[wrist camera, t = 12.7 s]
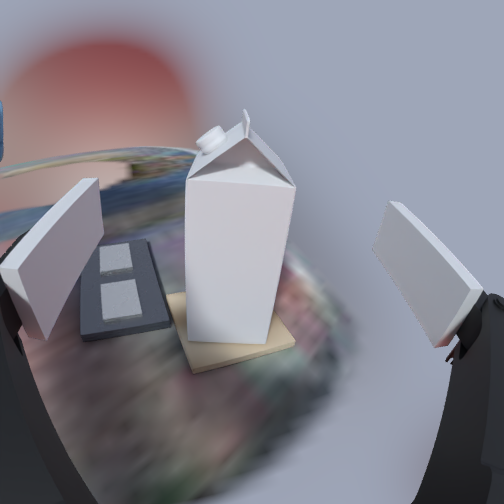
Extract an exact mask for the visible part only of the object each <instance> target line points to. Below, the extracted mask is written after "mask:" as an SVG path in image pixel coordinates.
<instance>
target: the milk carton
mask: <svg viewBox="0 0 504 504" xmlns="http://www.w3.org/2000/svg"><path fill="white" fill-rule="evenodd" d="M249 126H250V119H249V116H248V114H247V111H246V109H243V116H242V122H240V123H239V124H237V125H236V126H235V127H233V128H232V129H230V130H229V131H227V132H226V133H225V132H224V131H223V129H222V128H221V126H216V127H214V128H213V129H212V130H210V131H208V132H207V133H206V134H205V135H203V136H202V137H201V138H199V139H198V140H197V142H196V145H197V146H198V147H199V148H200V149H201V151H200V152H199V153H198V154H197V156H196V158H195V160H194V162H193V165H192V167H191V169H190V171H189V174H188V176H187V179H186V189H185V282H186V312H187V334H188V341H199V342H216V343H238V344H266V340H267V336H268V331H269V326H270V322H271V317H272V312H273V307H274V302H275V298H276V293H277V288H278V283H279V278H280V273H281V268H282V263H283V257H284V252H285V247H286V242H287V237H288V231H289V226H290V220H291V215H292V210H293V204H294V198H295V192H296V186H295V185H294V182H293V181H292V179H291V177H290V175H289V173H288V171H287V170H286V168H285V166H284V164H283V162H282V161H281V159H280V158H279V157H278V156H277V155H276V154H275V153H274V152H273V151H272V150H271V148H270V147H268V145H267V144H266V143H265V142H264V141H263V140H262V139H261V138H260V137H259V136H258V135H257V134H256V133H255V132H254V131H253V130H252V129H251V128H250V127H249Z"/></svg>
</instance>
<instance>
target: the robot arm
mask: <svg viewBox="0 0 504 504" xmlns="http://www.w3.org/2000/svg"><path fill="white" fill-rule="evenodd" d="M2 158H3V107H2V102H1V101H0V162H1V160H2ZM103 235H104V227H103V220H102V211H101V201H100V191H99V179H98V178H83V179H82V180H81V181H79V182H78V183H77V184H76V185H75V186H74V187H73V188H72V189H71V190H70V191H69V192H68V193H66V194H65V195H64V196H63V197H62V198H61V199H60V200H59V201H58V202H57V203H56V204H55V205H54V206H53V207H52V208H51V209H50V210H49V211H48V212H47V213H46V214H45V215H44V216H43V217H42V218H41V219H40V220H39V221H38V222H37V223H36V224H35V225H34V227H33V228H32V229H31V230H28V231H27V232H25V233H24V234H22V235H21V236H19V237H18V238H17V239H16V241H15V242H14V243H13V244H12V246H10V247H9V248H8V250H7V251H6V253H4V254H3V255H2V257H1V258H0V504H98V503H97V501H96V500H95V498H94V497H93V495H92V494H91V492H90V491H89V489H88V488H87V486H86V484H85V483H84V481H83V480H82V478H81V476H80V475H79V473H78V471H77V470H76V468H75V466H74V464H73V463H72V461H71V459H70V457H69V456H68V454H67V452H66V450H65V448H64V446H63V444H62V442H61V440H60V438H59V436H58V434H57V432H56V430H55V428H54V426H53V424H52V422H51V419H50V417H49V415H48V413H47V410H46V408H45V406H44V403H43V401H42V399H41V396H40V394H39V391H38V388H37V386H36V383H35V380H34V378H33V375H32V372H31V369H30V366H29V363H28V360H27V357H26V354H25V351H24V347H23V344H22V341H21V338H20V337H19V335H18V331H19V329H20V327H21V325H23V327H24V329H25V331H26V333H27V335H28V337H30V338H35V339H39V340H44V341H47V339H48V337H49V335H50V333H51V330H52V328H53V326H54V324H55V322H56V320H57V318H58V316H59V314H60V312H61V310H62V308H63V306H64V304H65V302H66V300H67V298H68V296H69V294H70V292H71V290H72V289H73V287H74V285H75V283H76V281H77V279H78V277H79V276H80V274H81V272H82V270H83V269H84V267H85V265H86V263H87V262H88V260H89V258H90V256H91V255H92V253H93V251H94V250H95V248H96V246H97V245H98V243H99V241H100V240H101V238H102V237H103ZM372 250H373V252H374V253H375V254H376V256H377V257H378V259H379V260H380V262H381V263H382V265H383V266H384V268H385V269H386V271H387V272H388V274H389V275H390V277H391V278H392V280H393V281H394V283H395V284H396V286H397V287H398V289H399V291H400V292H401V294H402V295H403V297H404V298H405V300H406V302H407V303H408V305H409V306H410V308H411V309H412V311H413V313H414V314H415V316H416V318H417V319H418V321H419V323H420V324H421V326H422V328H423V330H424V331H425V333H426V335H427V336H428V338H429V340H430V342H431V343H432V345H433V347H434V348H437V347H443V346H448V345H449V343H450V342H451V340H452V339H453V337H454V336H455V335H456V334H457V336H458V338H459V339H460V340H459V342H458V343H457V344H456V346H455V347H454V349H453V350H452V351H451V353H450V354H449V355H448V357H447V358H446V360H445V361H446V362H448V361H449V359H450V358H453V361H452V362H451V363H450V364H452V371H451V376H450V382H449V387H448V392H447V397H446V402H445V406H444V411H443V415H442V419H441V423H440V427H439V430H438V434H437V438H436V441H435V444H434V448H433V451H432V454H431V457H430V460H429V463H428V466H427V469H426V472H425V475H424V477H423V480H422V483H421V486H420V488H419V491H418V493H417V495H416V497H415V499H414V501H413V502H412V503H411V504H504V298H503V297H501V296H499V295H497V294H492V293H491V294H489V295H487V294H486V293H485V292H484V290H483V287H482V286H481V285H480V284H479V283H478V282H477V280H476V279H475V278H474V277H473V276H472V275H471V274H470V272H468V270H467V269H466V268H465V267H464V266H463V265H462V263H461V262H460V261H459V260H458V259H457V258H456V257H455V256H454V255H453V254H452V252H450V250H449V249H448V248H447V247H446V246H445V245H444V244H443V243H442V242H441V241H440V240H439V239H438V238H437V237H436V236H435V235H434V234H433V233H432V232H431V231H430V230H429V229H428V228H427V227H426V226H425V225H424V224H423V223H422V222H421V221H420V220H419V219H418V218H417V217H416V216H415V215H414V214H413V213H411V212H410V211H409V210H408V209H407V208H406V207H405V206H404V205H403V204H402V203H400V202H394V201H388V203H387V206H386V209H385V213H384V216H383V219H382V222H381V225H380V228H379V231H378V234H377V237H376V240H375V243H374V246H373V248H372Z"/></svg>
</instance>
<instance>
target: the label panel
mask: <svg viewBox="0 0 504 504" xmlns="http://www.w3.org/2000/svg"><path fill="white" fill-rule="evenodd" d="M164 328H170V319H169V316H168V313H167V310H166V307H165V304H164V301H163V297H162V294H161V291H160V288H159V284H158V281H157V277H156V274H155V271H154V267H153V264H152V260H151V256H150V253H149V249H148V245H147V241H146V239H140V240H133V241H125V242H118V243H111V244H104V245H97V246H96V248H95V250H94V251H93V253H92V255H91V256H90V258H89V260H88V262H87V263H86V265H85V267H84V269H83V270H82V272H81V290H80V335H81V338H82V340H83V342H87V341H93V340H100V339H106V338H113V337H119V336H125V335H131V334H137V333H142V332H148V331H154V330H159V329H164Z"/></svg>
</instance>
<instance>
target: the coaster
mask: <svg viewBox="0 0 504 504" xmlns="http://www.w3.org/2000/svg"><path fill="white" fill-rule="evenodd" d="M166 299H167V303H168V306H169V309H170V312H171V315H172V318H173V321H174V324H175V327H176V330H177V332H178V335H179V338H180V341H181V344H182V346H183V349H184V352H185V354H186V357H187V360H188V362H189V365H190V368H191V370H192V373H193V374H195V373H200V372H204V371H208V370H212V369H216V368H220V367H224V366H228V365H231V364H235V363H239V362H242V361H246V360H250V359H253V358H257V357H260V356H263V355H267V354H270V353H273V352H277V351H280V350H283V349H286V348H289V347H293V346H294V344H295V339H294V338H293V336H292V335H291V334H290V332H289V331H288V330H287V328H286V327H285V325H284V324H283V323H282V321H281V320H280V318H279V317H278V316H277V314H276V313H275V311H274V310H273V312H272V317H271V322H270V326H269V331H268V336H267V340H266V344H238V343H216V342H199V341H188V334H187V312H186V292H180V293H174V294H168V295H166Z"/></svg>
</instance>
